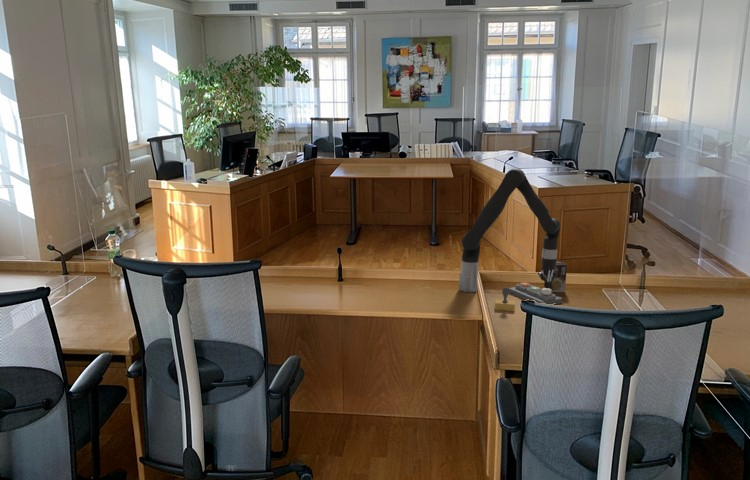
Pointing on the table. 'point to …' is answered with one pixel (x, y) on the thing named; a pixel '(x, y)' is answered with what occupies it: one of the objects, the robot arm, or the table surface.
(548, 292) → the cream button
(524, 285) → the terracotta button
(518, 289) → the console
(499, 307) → the rubber stamp
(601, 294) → the table surface
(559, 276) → the coffee box
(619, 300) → the table surface
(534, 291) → the sage button
